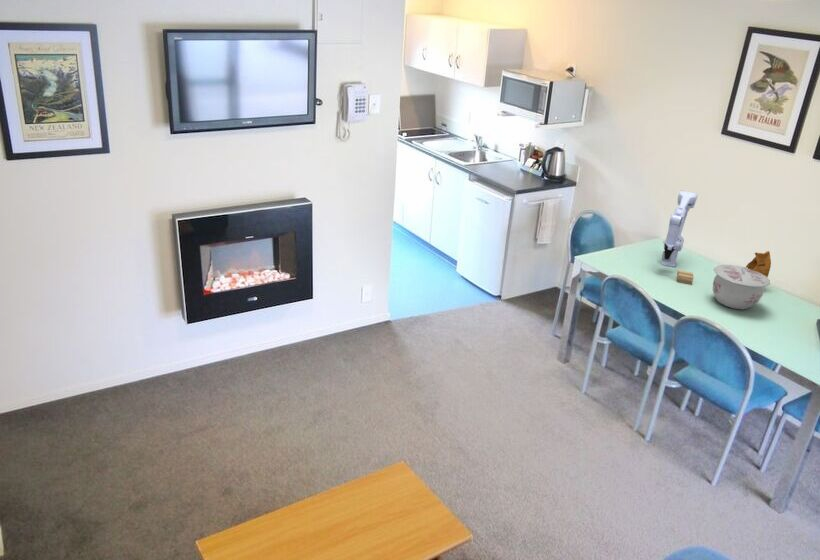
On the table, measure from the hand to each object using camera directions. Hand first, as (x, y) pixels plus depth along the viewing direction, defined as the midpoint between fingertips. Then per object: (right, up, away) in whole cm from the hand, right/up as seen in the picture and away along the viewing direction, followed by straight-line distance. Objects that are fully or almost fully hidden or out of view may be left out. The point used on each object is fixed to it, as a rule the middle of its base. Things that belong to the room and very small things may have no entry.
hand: (666, 257), depth 384 cm
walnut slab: (+8, -14, -5) cm, 17 cm away
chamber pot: (+25, -26, -28) cm, 45 cm away
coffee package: (+45, -18, -6) cm, 49 cm away
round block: (0, -1, +1) cm, 2 cm away
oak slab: (+8, -12, -6) cm, 15 cm away
